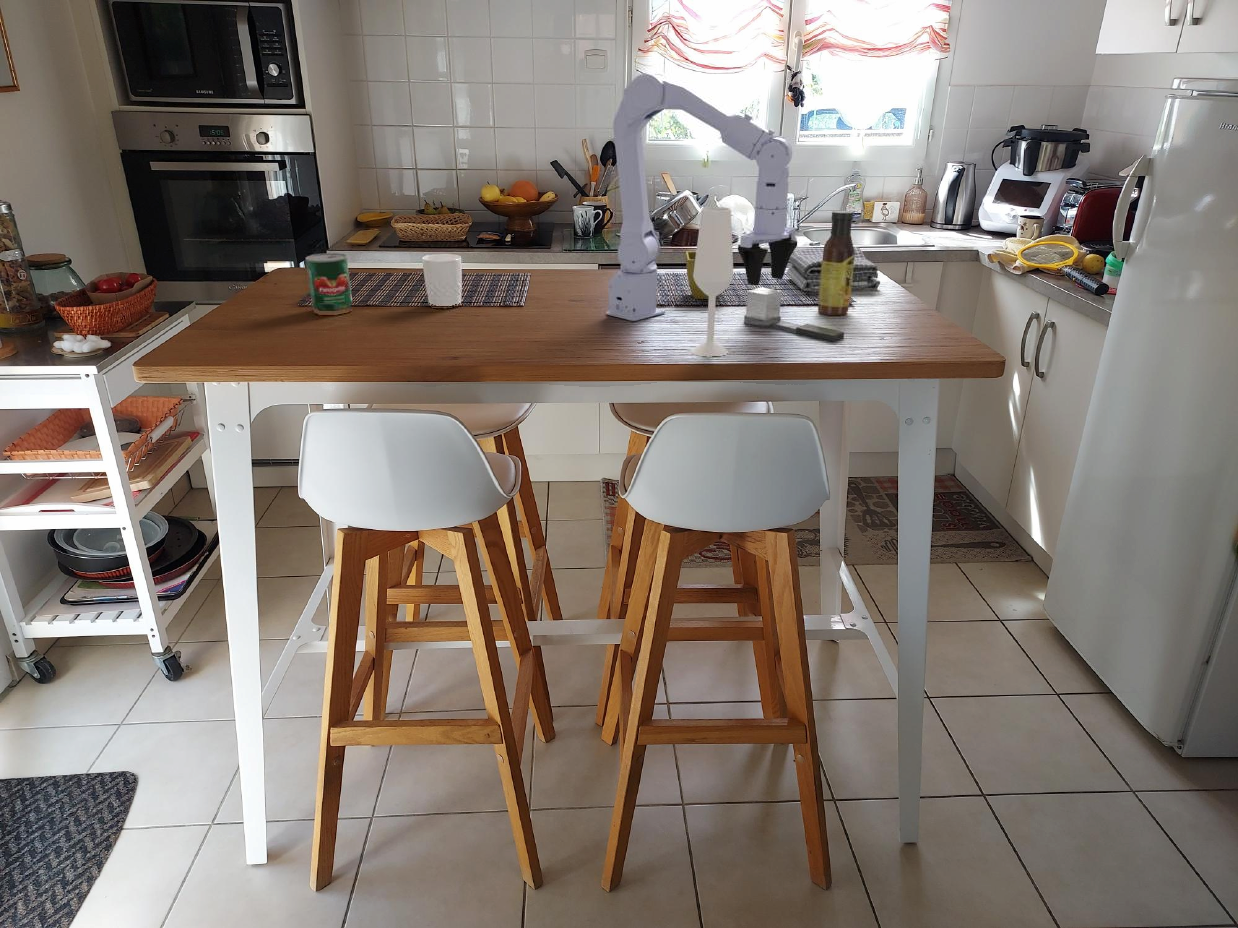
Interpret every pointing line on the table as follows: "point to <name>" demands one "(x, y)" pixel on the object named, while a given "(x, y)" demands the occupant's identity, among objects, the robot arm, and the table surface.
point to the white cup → (443, 279)
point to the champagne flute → (713, 267)
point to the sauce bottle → (837, 266)
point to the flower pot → (694, 288)
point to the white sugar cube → (763, 303)
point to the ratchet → (797, 329)
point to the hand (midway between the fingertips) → (765, 281)
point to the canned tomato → (329, 281)
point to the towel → (809, 270)
